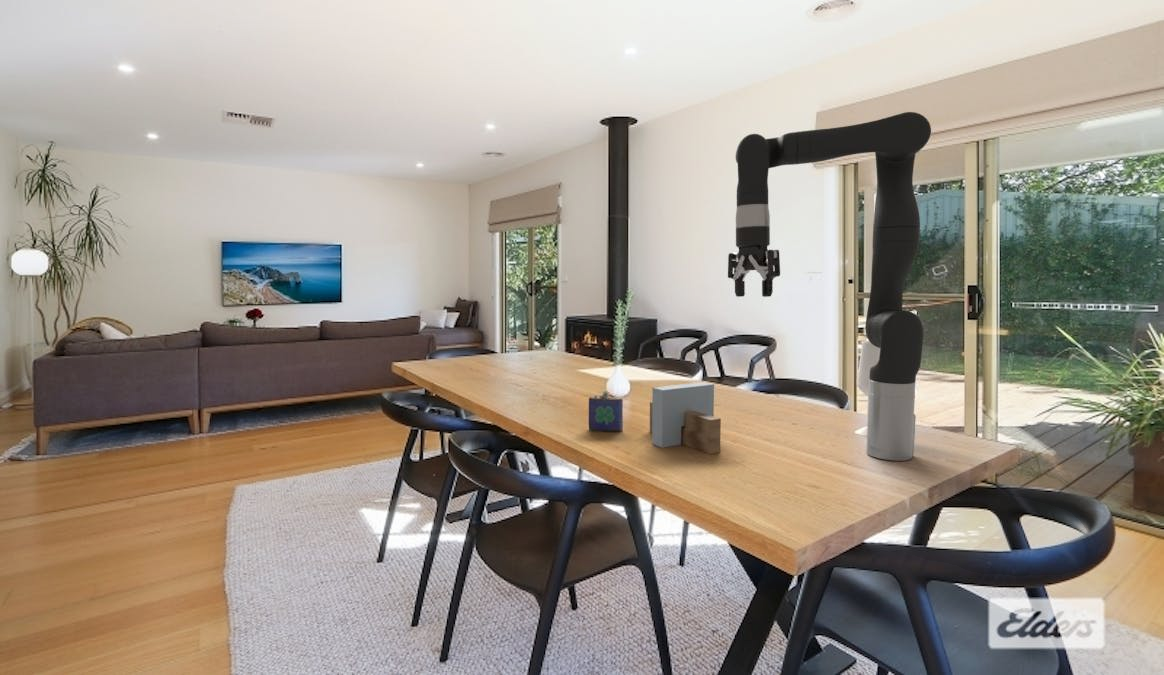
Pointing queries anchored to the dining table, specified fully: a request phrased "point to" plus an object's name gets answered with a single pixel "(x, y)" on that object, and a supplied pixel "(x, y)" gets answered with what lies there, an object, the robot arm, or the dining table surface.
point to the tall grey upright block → (678, 409)
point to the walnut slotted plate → (699, 431)
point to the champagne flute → (866, 373)
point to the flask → (605, 413)
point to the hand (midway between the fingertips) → (753, 296)
